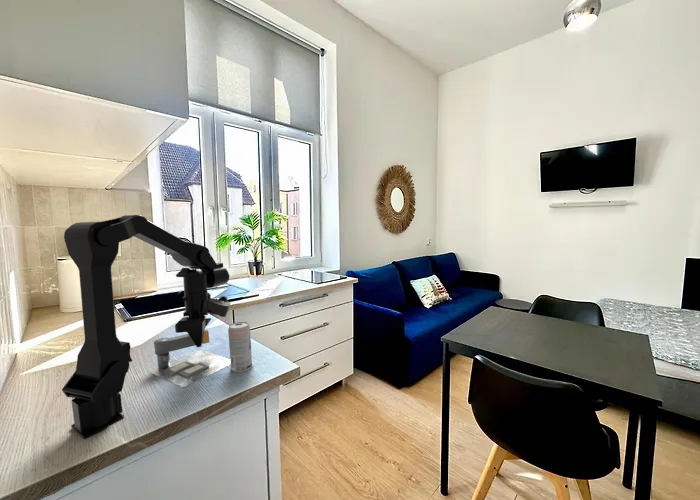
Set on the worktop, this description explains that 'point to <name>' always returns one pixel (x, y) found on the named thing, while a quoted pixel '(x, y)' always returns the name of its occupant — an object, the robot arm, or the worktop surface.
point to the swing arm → (176, 343)
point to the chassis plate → (195, 358)
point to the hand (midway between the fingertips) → (199, 346)
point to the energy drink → (240, 346)
